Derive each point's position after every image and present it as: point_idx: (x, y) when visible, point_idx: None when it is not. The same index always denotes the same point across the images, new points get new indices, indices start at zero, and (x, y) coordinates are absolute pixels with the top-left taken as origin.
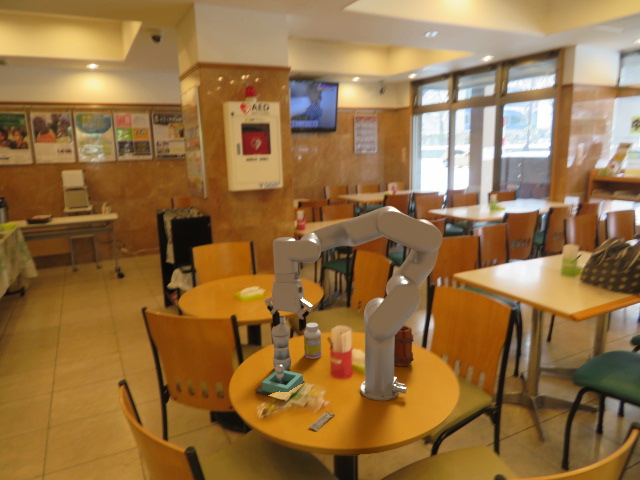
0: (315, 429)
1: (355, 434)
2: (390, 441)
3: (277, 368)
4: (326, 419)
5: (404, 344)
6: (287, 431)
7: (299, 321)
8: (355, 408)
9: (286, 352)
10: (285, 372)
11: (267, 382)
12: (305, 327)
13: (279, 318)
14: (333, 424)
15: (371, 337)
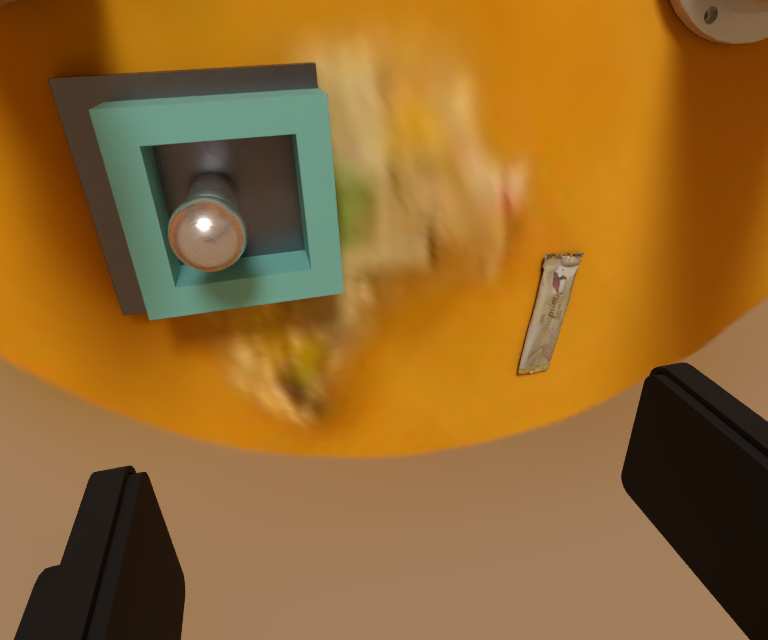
0: (541, 364)
1: (676, 307)
2: None
3: (213, 271)
4: (565, 303)
5: None
6: (451, 420)
7: (755, 626)
8: (654, 156)
9: None
10: (192, 132)
11: (186, 305)
12: (681, 367)
13: (124, 571)
14: (591, 303)
15: None
